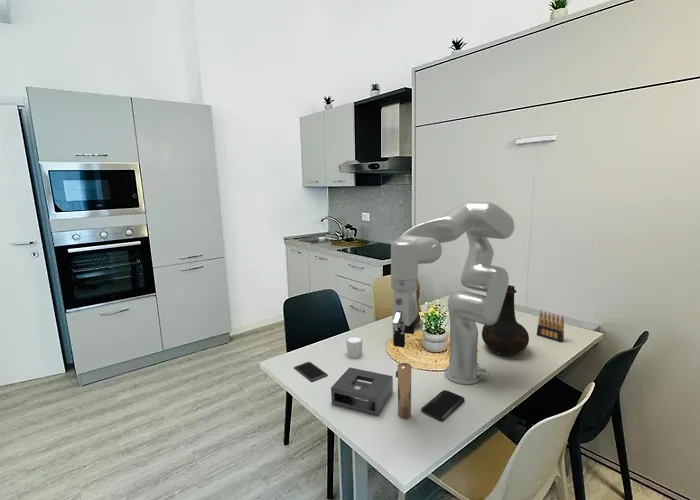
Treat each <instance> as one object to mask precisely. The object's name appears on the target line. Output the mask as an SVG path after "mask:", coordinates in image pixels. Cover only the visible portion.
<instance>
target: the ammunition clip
mask: <svg viewBox="0 0 700 500" xmlns="http://www.w3.org/2000/svg"><path fill="white" fill-rule="evenodd" d="M564 320H565V318H564V315H561V316H559V314H557V315H555V313H552V315H551V312H550V311H549V312H548V314H547V311H546V310H545V311H544V312H543V310H542V309H541V310H540V311H539V316H538V322H537V323H538V324H537V330H536V336H537V337H541V338H543V339H547V340H551V341H554V342H558V343H561V344H562V343H563V342H564V340H565V339H564V336H565V333H564V332H565V331H564V328H565V327H564V326H565V325H564V324H565V321H564Z"/></svg>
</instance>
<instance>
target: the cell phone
mask: <svg viewBox="0 0 700 500" xmlns="http://www.w3.org/2000/svg"><path fill="white" fill-rule="evenodd" d="M293 369H294V370H295V371H296V372H298V373H299V374H300V375H302V376H303V377H304V378H305V379H307V380H308V381H309V382H310V383H314V382H317V381H319V380H322V379H324V378H326V377H328V376H329V374H328V373H327V372H325V371H324V370H322V369H321V368H320V367H318V366H317V365H315V363H312V362H311V361H306V362H303V363H301V364H298V365H296V366H294V367H293Z"/></svg>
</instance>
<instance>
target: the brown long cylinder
mask: <svg viewBox="0 0 700 500" xmlns="http://www.w3.org/2000/svg"><path fill="white" fill-rule="evenodd" d="M395 378H397V415H398V417H399V418H401V419H403V420H405V419H406V420H407V419H409V418H411V416H412V365H411V364H410V363H408V362H401V363H398V365H397V370H396V371H395Z"/></svg>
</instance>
